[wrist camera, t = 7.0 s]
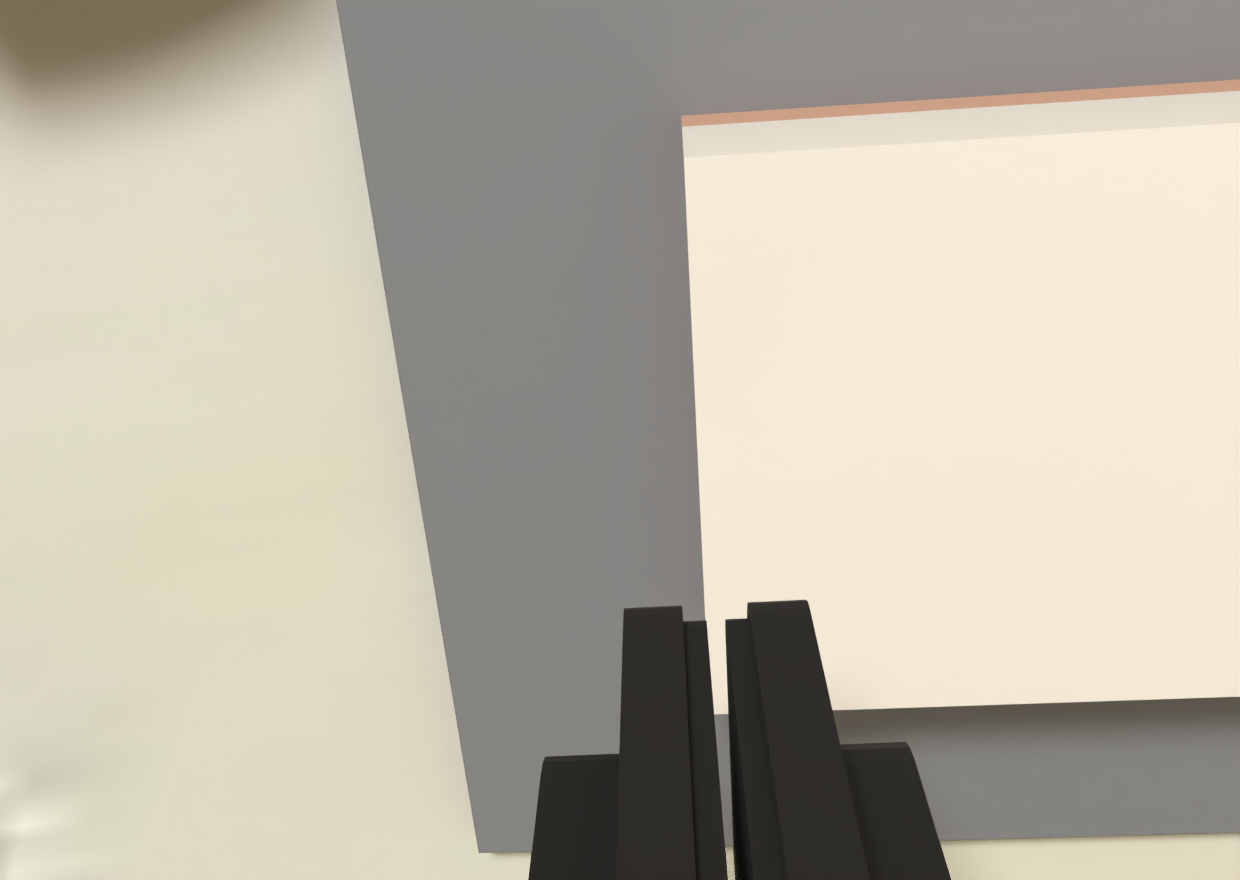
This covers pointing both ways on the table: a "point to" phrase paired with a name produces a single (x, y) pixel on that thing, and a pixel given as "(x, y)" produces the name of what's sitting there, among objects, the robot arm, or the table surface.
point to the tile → (975, 390)
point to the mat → (683, 361)
